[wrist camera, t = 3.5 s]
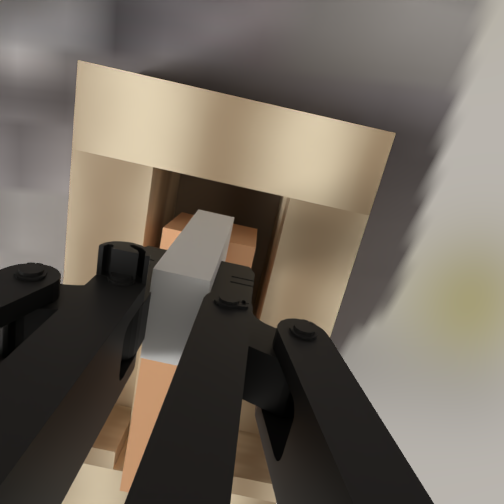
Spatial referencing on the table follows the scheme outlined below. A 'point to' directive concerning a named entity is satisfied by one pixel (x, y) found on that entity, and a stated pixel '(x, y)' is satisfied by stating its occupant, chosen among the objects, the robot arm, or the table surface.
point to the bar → (160, 374)
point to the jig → (221, 202)
